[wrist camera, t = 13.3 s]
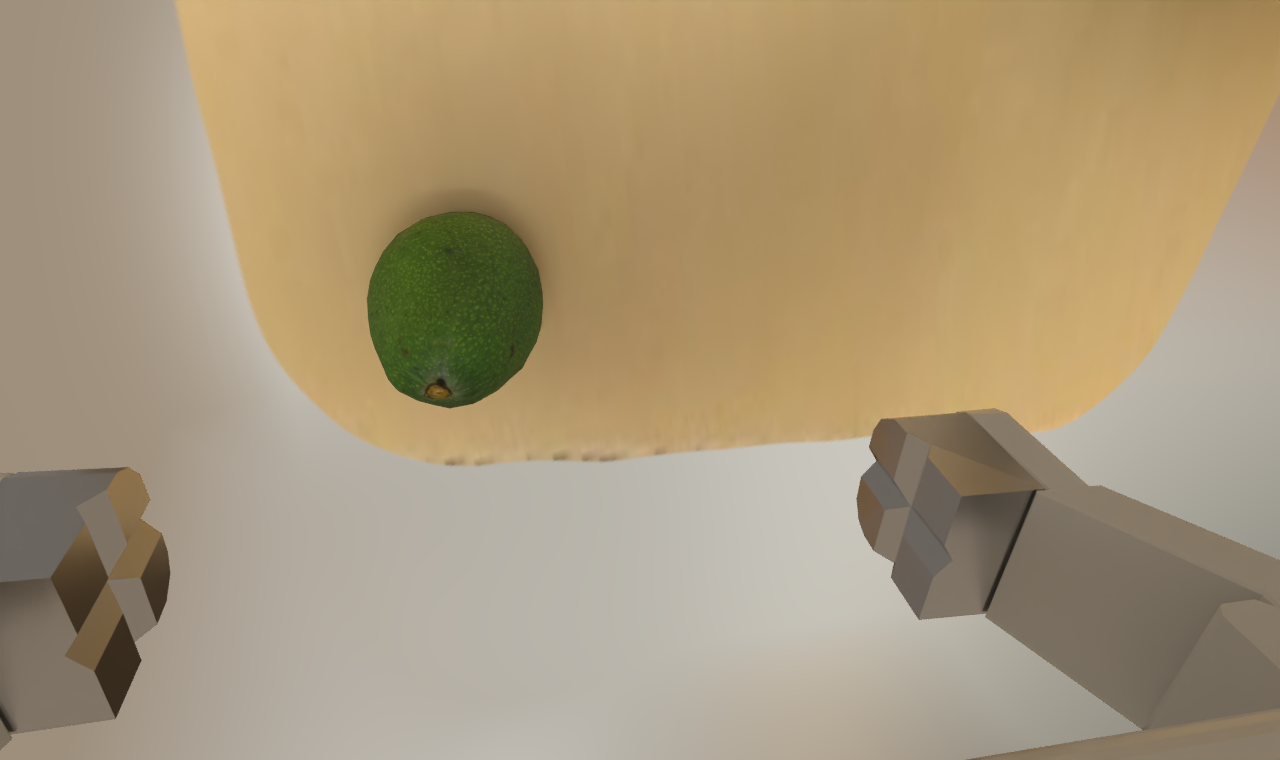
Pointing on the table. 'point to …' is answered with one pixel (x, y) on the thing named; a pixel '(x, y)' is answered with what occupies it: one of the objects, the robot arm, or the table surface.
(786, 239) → the table surface
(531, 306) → the fruit
